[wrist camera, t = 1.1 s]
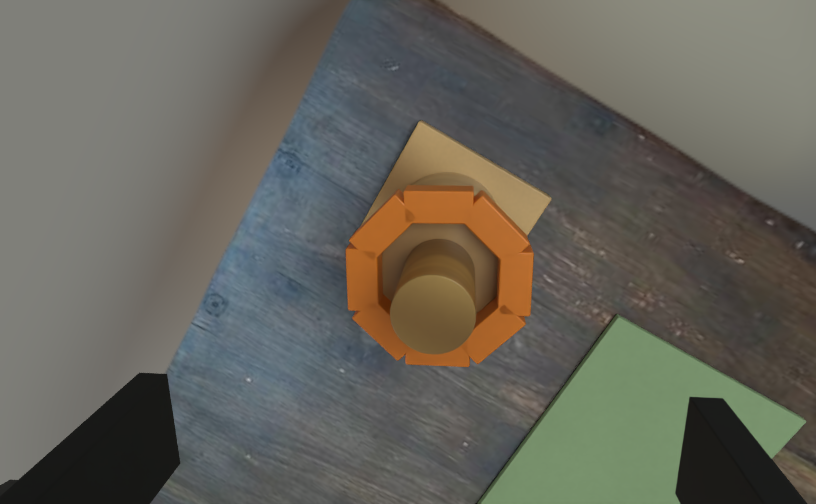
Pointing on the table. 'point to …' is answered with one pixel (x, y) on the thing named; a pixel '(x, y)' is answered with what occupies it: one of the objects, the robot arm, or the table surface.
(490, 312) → the ring
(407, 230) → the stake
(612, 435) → the mat
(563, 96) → the table surface
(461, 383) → the table surface
